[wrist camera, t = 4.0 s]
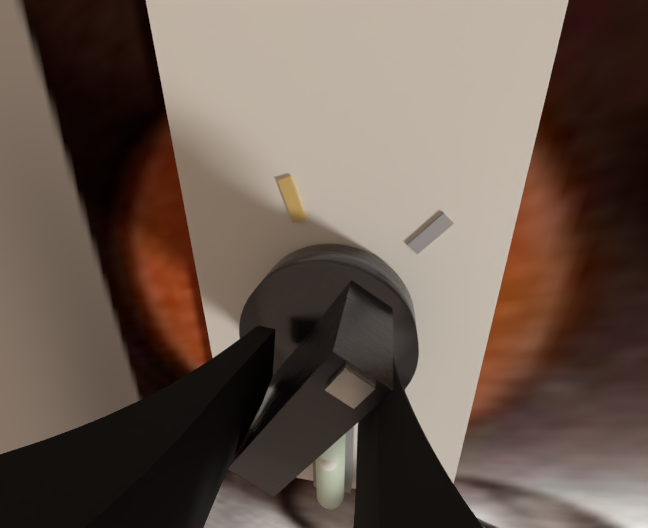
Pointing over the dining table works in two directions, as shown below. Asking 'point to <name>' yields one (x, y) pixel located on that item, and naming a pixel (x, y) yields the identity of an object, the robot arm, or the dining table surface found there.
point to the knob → (323, 355)
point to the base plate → (360, 163)
